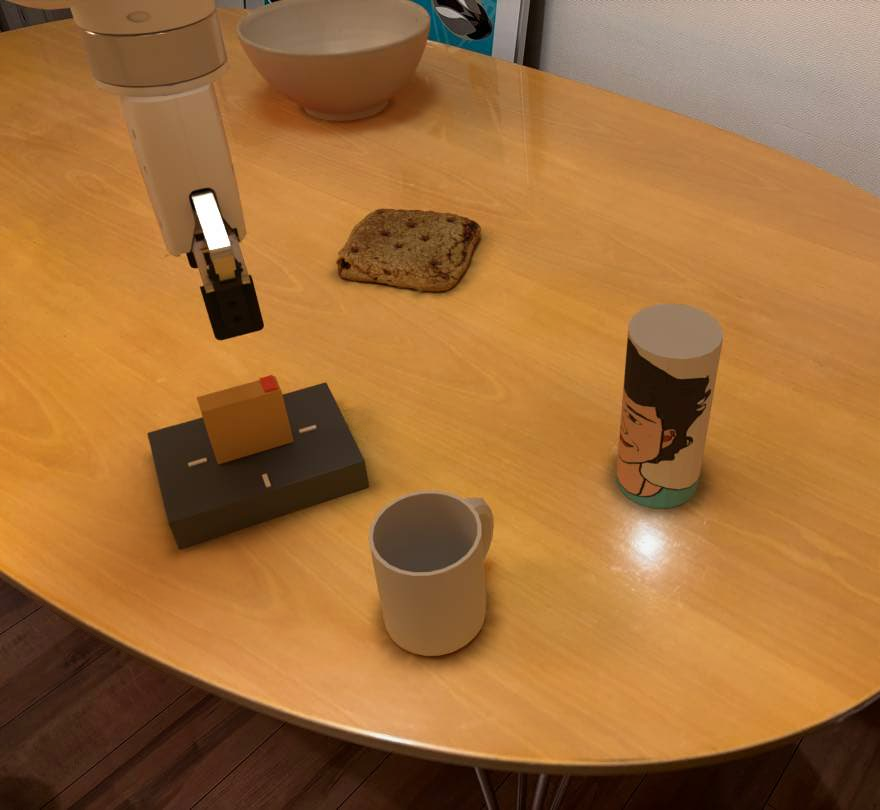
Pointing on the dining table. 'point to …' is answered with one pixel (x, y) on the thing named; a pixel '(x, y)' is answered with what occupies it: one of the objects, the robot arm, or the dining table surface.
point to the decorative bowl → (336, 52)
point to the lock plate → (256, 471)
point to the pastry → (409, 249)
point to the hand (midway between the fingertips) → (225, 296)
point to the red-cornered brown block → (246, 419)
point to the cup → (432, 569)
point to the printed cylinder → (666, 403)
